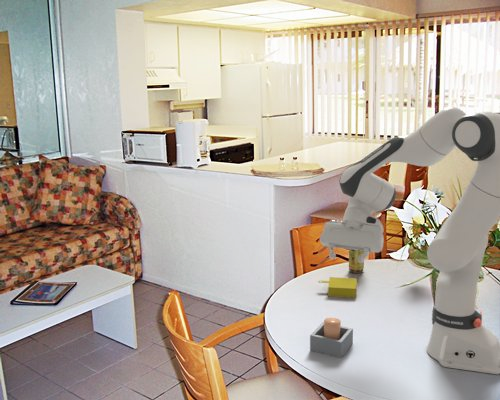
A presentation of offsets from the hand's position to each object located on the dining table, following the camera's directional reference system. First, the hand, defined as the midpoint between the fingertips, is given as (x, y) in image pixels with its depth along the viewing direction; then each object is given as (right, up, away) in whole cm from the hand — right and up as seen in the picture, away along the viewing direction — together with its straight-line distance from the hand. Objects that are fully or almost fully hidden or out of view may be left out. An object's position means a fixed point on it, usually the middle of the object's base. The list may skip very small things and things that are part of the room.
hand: (345, 260), depth 173 cm
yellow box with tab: (+4, -17, +39) cm, 42 cm away
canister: (-5, -25, -4) cm, 26 cm away
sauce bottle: (+15, -11, +59) cm, 61 cm away
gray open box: (-5, -26, -3) cm, 27 cm away
